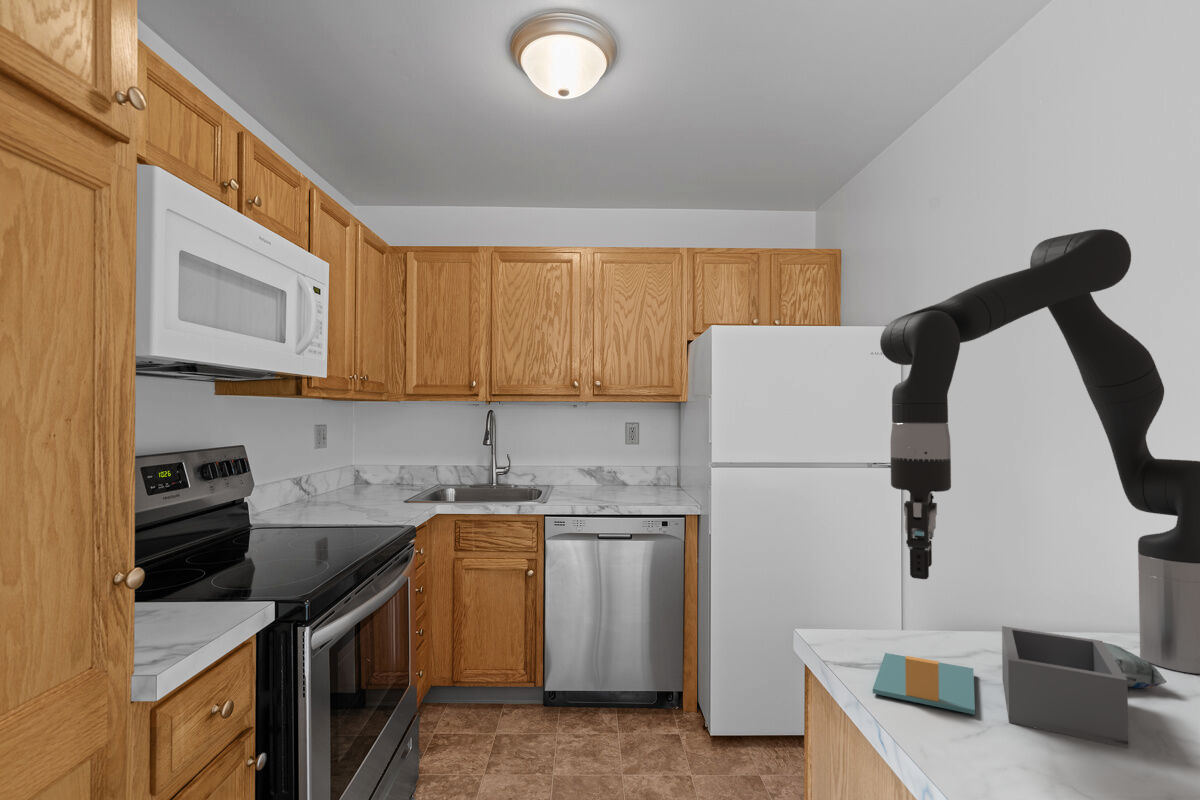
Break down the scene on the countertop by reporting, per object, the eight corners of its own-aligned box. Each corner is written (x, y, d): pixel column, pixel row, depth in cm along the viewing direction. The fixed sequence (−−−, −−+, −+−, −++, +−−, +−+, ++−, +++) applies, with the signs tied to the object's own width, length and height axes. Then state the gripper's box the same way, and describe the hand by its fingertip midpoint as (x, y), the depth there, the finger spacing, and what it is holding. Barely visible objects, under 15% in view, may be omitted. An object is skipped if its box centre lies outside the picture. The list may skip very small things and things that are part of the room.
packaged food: (1103, 694, 90) (1103, 659, 90) (1053, 662, 102) (1053, 632, 102) (1169, 698, 89) (1169, 663, 89) (1111, 666, 101) (1111, 636, 101)
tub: (1002, 679, 95) (1002, 626, 95) (1103, 697, 89) (1102, 640, 89) (1008, 722, 81) (1008, 659, 81) (1128, 747, 75) (1127, 680, 75)
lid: (885, 661, 102) (885, 621, 103) (973, 677, 96) (972, 635, 96) (872, 698, 88) (872, 653, 88) (975, 720, 82) (974, 671, 82)
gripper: (949, 459, 80) (951, 587, 79) (951, 453, 92) (953, 564, 91) (885, 457, 83) (886, 579, 83) (895, 452, 96) (896, 559, 95)
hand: (921, 571), depth 87 cm, fingers open, 8 cm apart
